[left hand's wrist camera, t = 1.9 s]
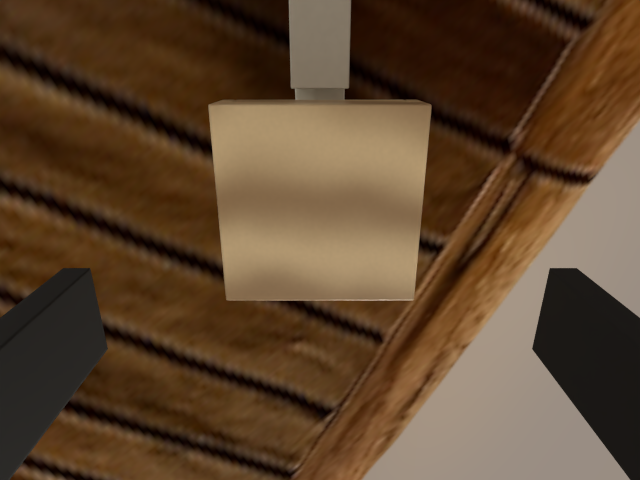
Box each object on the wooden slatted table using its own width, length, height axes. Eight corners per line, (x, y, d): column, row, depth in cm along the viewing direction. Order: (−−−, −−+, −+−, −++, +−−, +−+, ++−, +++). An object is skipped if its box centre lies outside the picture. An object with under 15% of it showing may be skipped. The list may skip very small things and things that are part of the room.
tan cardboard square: (403, 275, 26) (414, 300, 23) (236, 275, 26) (225, 300, 23) (417, 99, 22) (432, 104, 19) (221, 99, 22) (207, 104, 19)
